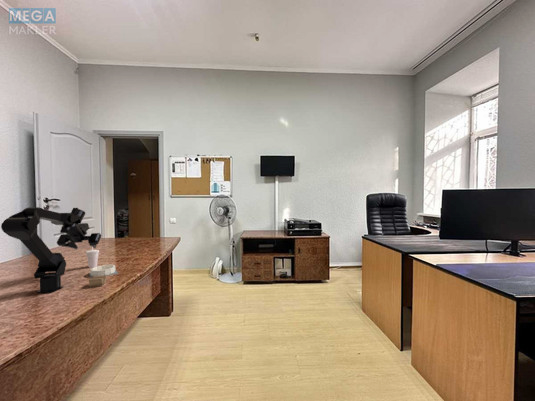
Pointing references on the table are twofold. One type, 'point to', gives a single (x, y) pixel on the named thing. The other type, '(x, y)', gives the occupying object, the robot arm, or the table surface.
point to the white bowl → (102, 270)
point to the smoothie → (92, 257)
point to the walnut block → (97, 281)
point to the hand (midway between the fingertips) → (86, 247)
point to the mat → (106, 275)
